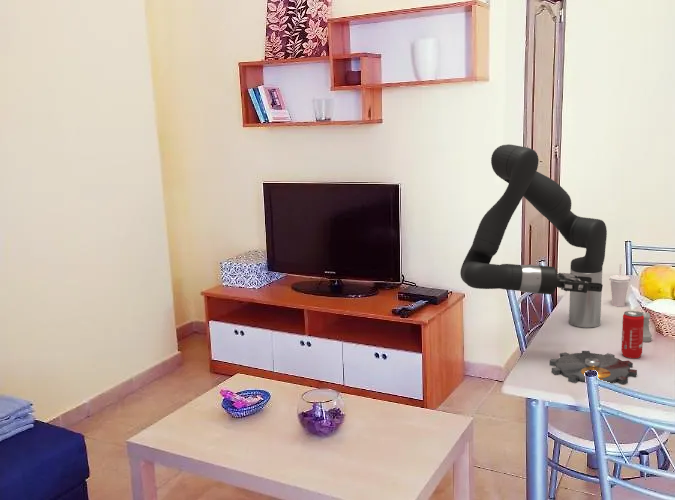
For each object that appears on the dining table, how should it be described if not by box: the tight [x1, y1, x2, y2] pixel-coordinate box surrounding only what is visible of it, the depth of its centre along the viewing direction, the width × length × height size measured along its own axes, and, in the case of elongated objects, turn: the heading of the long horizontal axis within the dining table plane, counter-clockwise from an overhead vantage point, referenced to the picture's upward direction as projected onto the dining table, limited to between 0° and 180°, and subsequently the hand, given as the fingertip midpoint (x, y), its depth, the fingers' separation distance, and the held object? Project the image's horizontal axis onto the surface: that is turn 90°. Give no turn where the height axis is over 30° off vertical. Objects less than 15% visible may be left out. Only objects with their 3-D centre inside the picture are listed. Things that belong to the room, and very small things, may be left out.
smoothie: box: [609, 263, 631, 308], centre depth 228 cm, size 6×6×14 cm
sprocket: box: [548, 350, 638, 385], centre depth 177 cm, size 21×21×3 cm
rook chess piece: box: [641, 311, 653, 343], centre depth 196 cm, size 4×4×8 cm
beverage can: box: [621, 310, 644, 360], centre depth 184 cm, size 5×5×12 cm
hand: (596, 284), depth 183 cm, fingers open, 8 cm apart
